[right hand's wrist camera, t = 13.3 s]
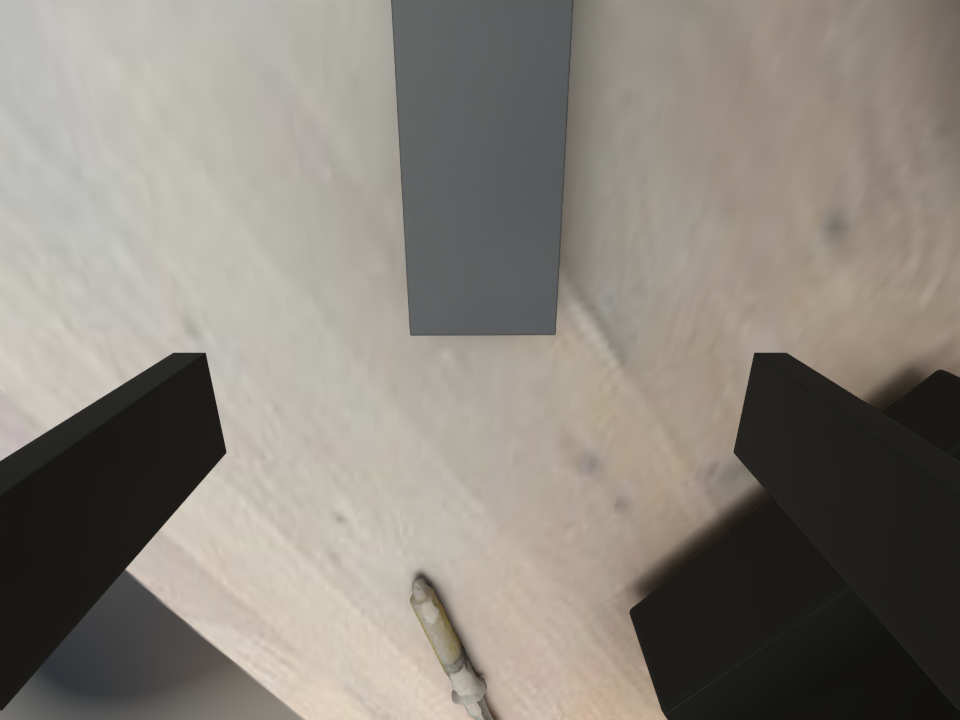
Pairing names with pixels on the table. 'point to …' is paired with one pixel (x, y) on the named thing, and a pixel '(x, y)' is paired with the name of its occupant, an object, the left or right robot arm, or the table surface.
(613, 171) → the table surface
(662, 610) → the dark grey storage case
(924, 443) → the right robot arm
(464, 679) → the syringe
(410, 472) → the table surface
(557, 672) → the table surface
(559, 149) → the thick board
